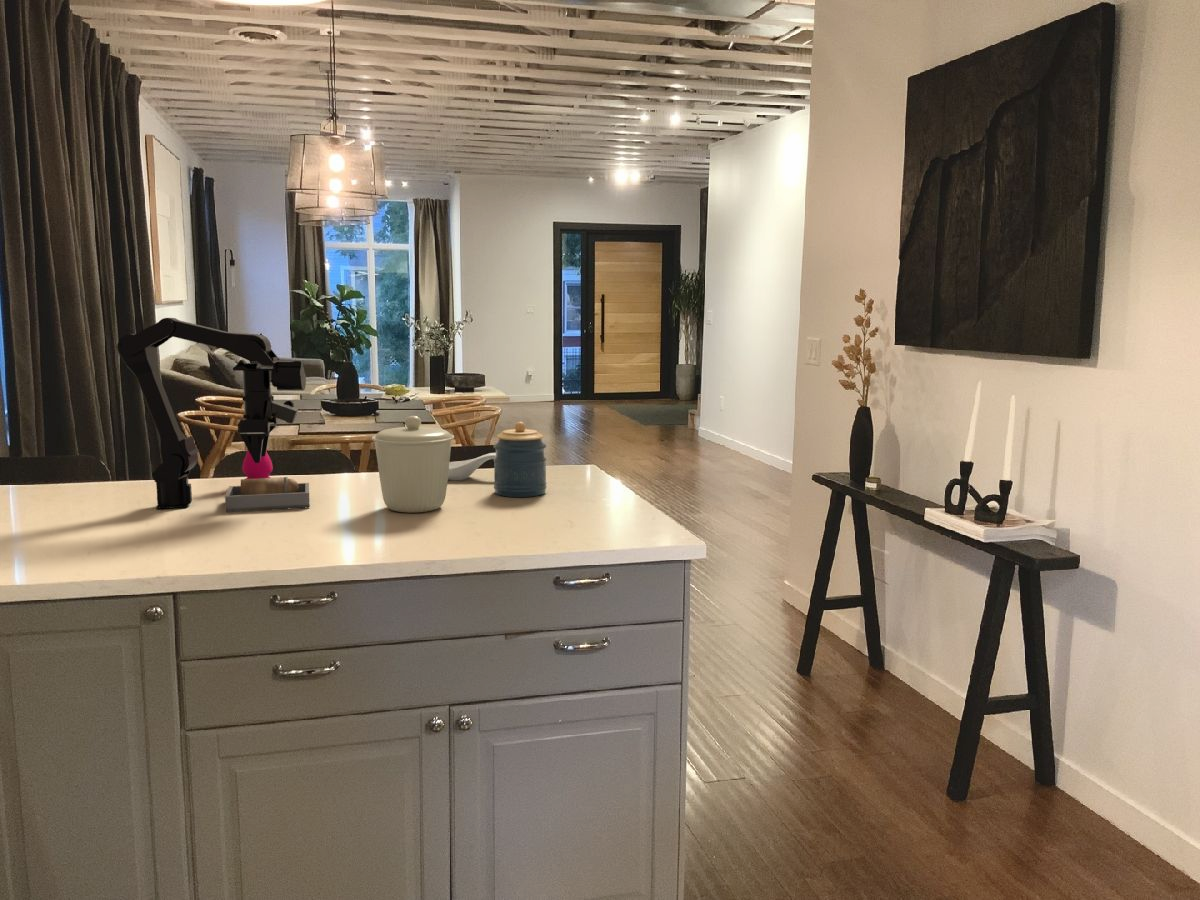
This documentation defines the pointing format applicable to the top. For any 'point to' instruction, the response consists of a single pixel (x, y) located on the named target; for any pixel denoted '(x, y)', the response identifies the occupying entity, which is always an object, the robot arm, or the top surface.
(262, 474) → the pepper mill
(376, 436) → the canister
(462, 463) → the spoon rest
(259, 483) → the shaker
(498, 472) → the canister
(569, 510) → the top surface
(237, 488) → the dish
